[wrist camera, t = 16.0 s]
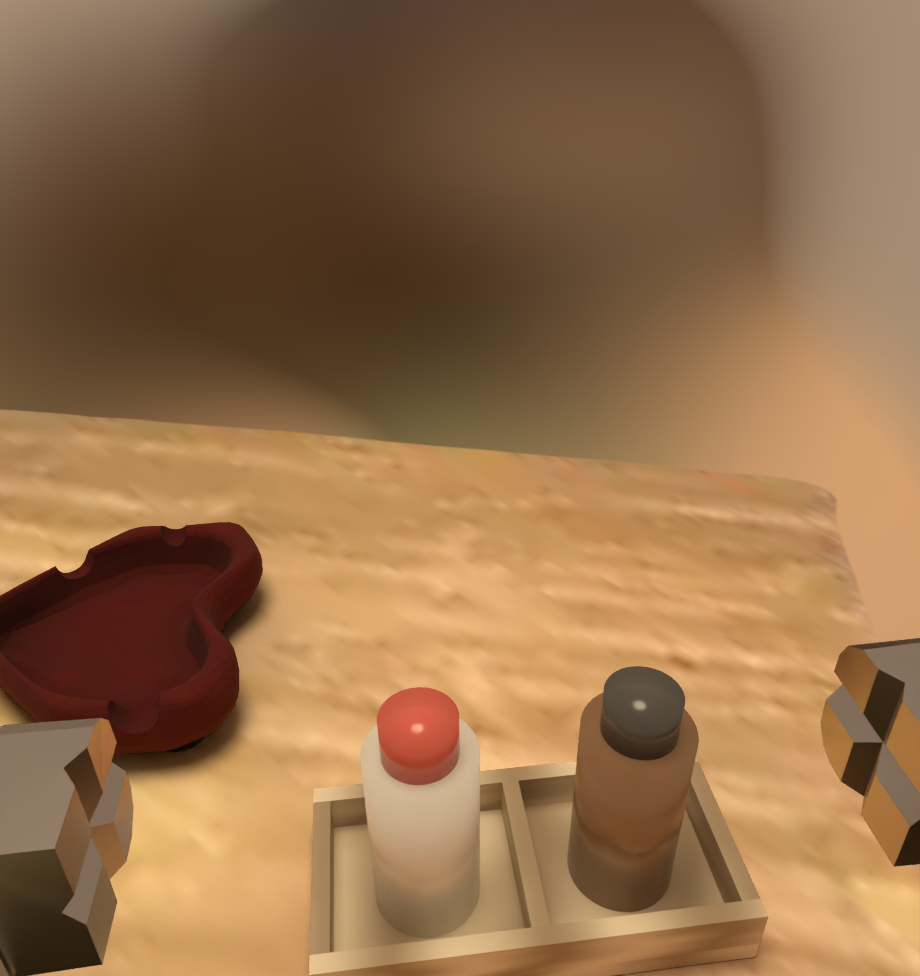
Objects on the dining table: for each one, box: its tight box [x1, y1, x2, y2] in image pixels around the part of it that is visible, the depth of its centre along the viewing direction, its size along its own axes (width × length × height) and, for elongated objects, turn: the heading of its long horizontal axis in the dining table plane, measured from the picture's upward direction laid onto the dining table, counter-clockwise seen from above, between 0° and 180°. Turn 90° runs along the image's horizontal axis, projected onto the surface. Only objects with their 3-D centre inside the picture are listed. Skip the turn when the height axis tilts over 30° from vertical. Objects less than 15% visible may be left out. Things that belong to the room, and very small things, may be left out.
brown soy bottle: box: [567, 666, 699, 912], centre depth 37 cm, size 5×5×11 cm
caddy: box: [309, 758, 768, 976], centre depth 39 cm, size 19×9×3 cm, turn 97°
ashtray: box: [0, 522, 263, 754], centre depth 52 cm, size 18×16×5 cm
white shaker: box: [360, 687, 480, 938], centre depth 36 cm, size 5×5×11 cm
